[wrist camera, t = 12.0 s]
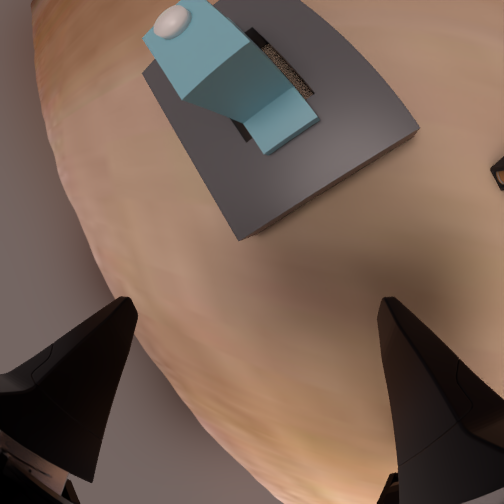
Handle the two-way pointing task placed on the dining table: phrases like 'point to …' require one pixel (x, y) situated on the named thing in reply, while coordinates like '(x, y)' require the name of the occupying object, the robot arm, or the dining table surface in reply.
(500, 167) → the ammunition clip
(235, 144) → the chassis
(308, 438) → the dining table surface
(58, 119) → the dining table surface
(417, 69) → the dining table surface
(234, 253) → the dining table surface
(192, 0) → the servo
